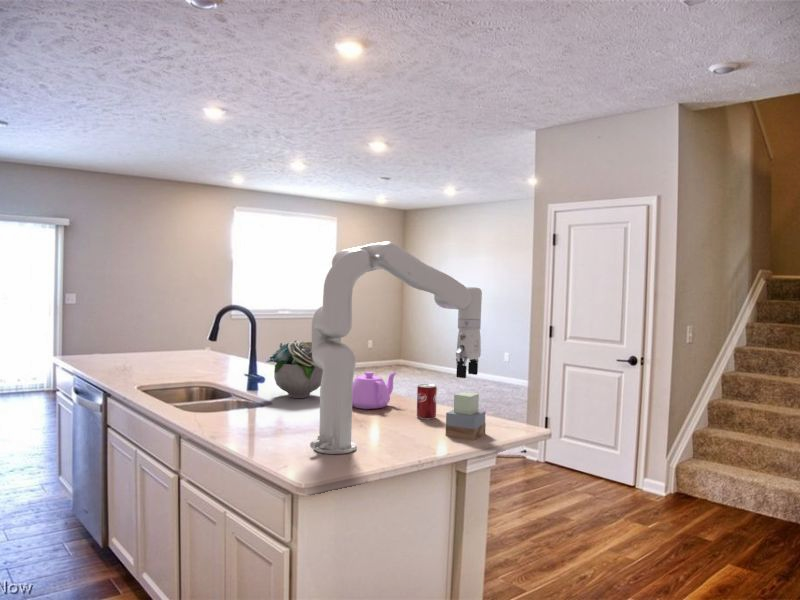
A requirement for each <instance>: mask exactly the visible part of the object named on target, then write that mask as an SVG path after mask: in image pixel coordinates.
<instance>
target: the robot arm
mask: <svg viewBox="0 0 800 600" xmlns="http://www.w3.org/2000/svg"><path fill="white" fill-rule="evenodd" d="M377 270H384V271H387V273H389V274H390V275H392V276H393V277H396V278H397V279H398V280H400V281H402V282H403V283H404V284H406V285H408V286H409V287H411V288H414V289H417V290H419V291H423V292H427V293H430V294H432V295H434V296H433V299H434V303H435V304H436V305H437V306H439V308H443V309H447V310H448V309H450V310H456V311H457V310H458V312H457V329H458V333H457V342H456V352H455V357H456V358H455V360H456V375H455V376H456V378H458V379H459V378H460V379H466V378H467V374H469V375H473V376H474V375H475V376H477V375H478V370H479V369H478V368H479V358H480V357H481V355H482V354H481V353H482V352H481V351H482V349H481V347H482V346H481V344H482V341H481V340H482V339H481V327H482V326H481V324H482V323H481V321H482V302H483V301H482V299H483V293H482V289H481V288H479V287H473V286H472V287H471V286H465V285H464V284H462V283H461V282H459V280H457V279H455V278H454V277H453V276H451V275H449V274H446V273H445V272H442V271H440V270H439V269H436V268H434V267H433V266H431V265H428V264H426V263H425V262H423V261H421V260H420V259H418V257H416V256H414V255H413V254H412V253H410V252H408V251H407V250H405V249H404V248H402V247H401V246H399V245H398V244H397V243H394V242H392V241H382V242H375V243H370V244H366V245H363V246H362V245H361V246H357V247H352V248H347V249H342V250H339V251H338V252H337V253H335V254H334V255H333V257H332V261H331V268H330V269H329V271H328V272H327V274H326V277H325V279H324V283H323V296H322V306H320V307H319V308H318V309H316V311H315V312H314V314H313V316H312V321H311V342H312V358H313V361H314V363H315V364H316V366H317V367H319V368H320V369H322V370H323V374H322V379H321V386H320V387H319V388H320V389H319V391H320V393H319V398H320V399H319V430H318V435H317V439H316V440H314V441H311V442H310V444H309V446H310V449H313V450H315V451H316V452H318V453H321V454H328V455H341V454H342V455H344V454H348V453H352V452H353V451H356V449H357V443H355V442H354V441H352V430H353V429H352V428H353V427H352V426H353V425H352V423H353V422H352V421H353V419H352V417H353V406H352V388H353V382H354V376H355V371H356V364H357V363H356V355H355V352H354V351H353V350H352V349H351V347H349V345H347V344H345V343H343V342H342V338H344V337H346V336H347V335H349V334H350V332H351V330H352V326H353V307H352V306H353V305H352V304H353V292H354V291H353V289H354V286H355V284H356V282H357V281H358V279H359V278H360V277H363V276H364V275H365V274H366V273H369V272H373V271H377ZM467 362H468V365H467ZM467 366H468V367H467ZM467 370H468V372H467Z"/></svg>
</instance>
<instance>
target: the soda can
mask: <svg viewBox="0 0 800 600" xmlns="http://www.w3.org/2000/svg"><path fill="white" fill-rule="evenodd" d="M416 388H417V389H416V417H417V418H418V419H419V418H420V419H419V420H425V419H430V420H434V419H435V418H437V397H438V396H437V394H438V387H437V386H436V384H431V383H429V384H428V383H424V384H423V383H422V384H418V385H417V387H416Z"/></svg>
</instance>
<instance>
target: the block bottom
mask: <svg viewBox="0 0 800 600" xmlns="http://www.w3.org/2000/svg"><path fill="white" fill-rule="evenodd" d="M486 424H487V423H486V422H485V423H484V424H483V425H481V426H479V427H478V428H476V429H469V428H462V427H456V426H449V425H446V424H445V433H444V435H445V436H447V437H453V438H458V439H464V440H470V441H475V440H477V439H479V438H480V437H482V436H484V435H485V434H486V427H487V426H486Z"/></svg>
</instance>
